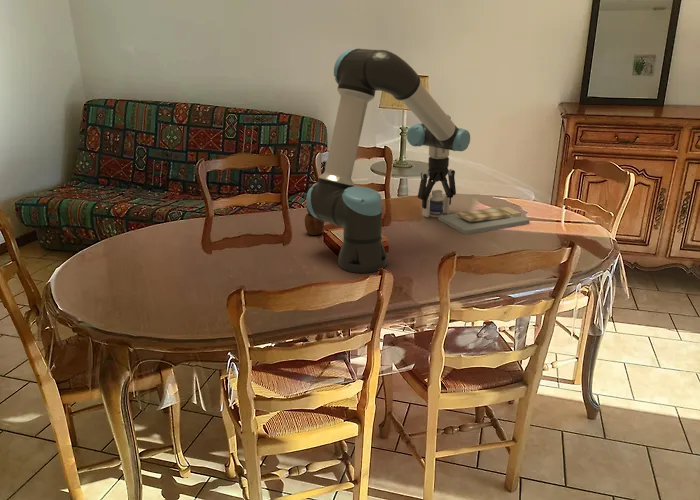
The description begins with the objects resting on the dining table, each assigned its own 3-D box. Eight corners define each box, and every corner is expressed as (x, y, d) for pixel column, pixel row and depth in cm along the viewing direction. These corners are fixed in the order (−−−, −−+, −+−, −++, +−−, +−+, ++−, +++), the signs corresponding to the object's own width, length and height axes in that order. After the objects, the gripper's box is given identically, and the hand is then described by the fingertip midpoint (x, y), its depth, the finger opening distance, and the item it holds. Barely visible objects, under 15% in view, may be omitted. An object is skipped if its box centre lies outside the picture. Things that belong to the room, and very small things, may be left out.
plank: (469, 221, 213) (469, 218, 213) (457, 215, 220) (457, 212, 219) (510, 217, 220) (510, 214, 220) (496, 211, 227) (497, 208, 226)
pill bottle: (443, 217, 226) (445, 193, 222) (429, 217, 226) (430, 193, 222) (442, 213, 231) (443, 189, 227) (428, 213, 231) (429, 189, 227)
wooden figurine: (325, 231, 212) (324, 191, 207) (323, 236, 207) (322, 195, 201) (306, 230, 213) (305, 190, 207) (304, 236, 207) (302, 195, 202)
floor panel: (465, 234, 208) (465, 227, 207) (438, 219, 223) (438, 212, 222) (529, 223, 218) (529, 216, 217) (499, 210, 234) (499, 203, 233)
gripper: (419, 161, 213) (417, 221, 221) (468, 155, 220) (464, 213, 229) (409, 157, 219) (407, 215, 227) (457, 152, 227) (453, 208, 235)
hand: (436, 214), depth 228 cm, fingers open, 8 cm apart
